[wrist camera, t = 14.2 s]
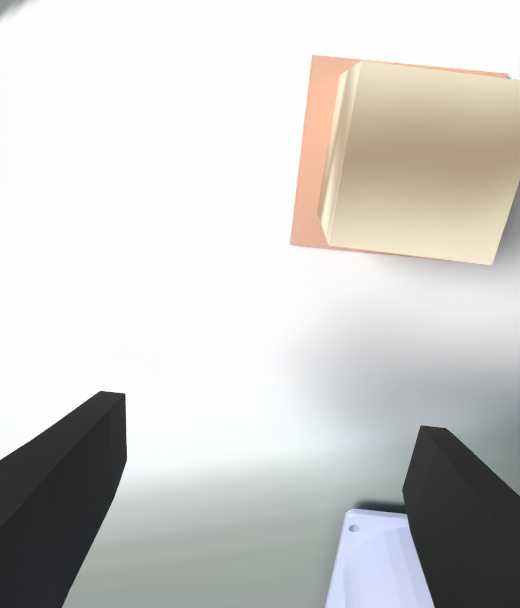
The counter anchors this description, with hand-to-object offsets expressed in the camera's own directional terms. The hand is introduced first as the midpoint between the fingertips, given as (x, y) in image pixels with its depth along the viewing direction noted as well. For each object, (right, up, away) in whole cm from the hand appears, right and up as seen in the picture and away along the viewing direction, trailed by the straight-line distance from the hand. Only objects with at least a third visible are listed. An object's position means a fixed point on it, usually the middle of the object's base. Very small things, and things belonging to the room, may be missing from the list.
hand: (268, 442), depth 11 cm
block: (+5, +9, +6) cm, 12 cm away
